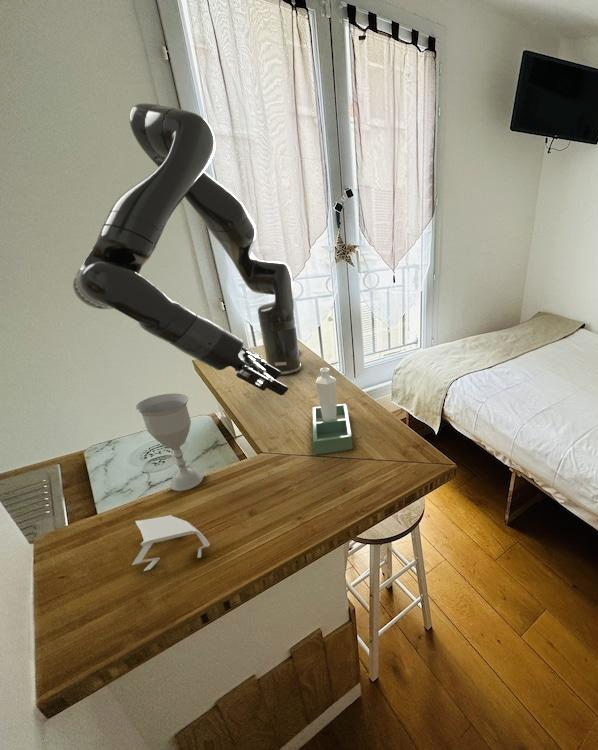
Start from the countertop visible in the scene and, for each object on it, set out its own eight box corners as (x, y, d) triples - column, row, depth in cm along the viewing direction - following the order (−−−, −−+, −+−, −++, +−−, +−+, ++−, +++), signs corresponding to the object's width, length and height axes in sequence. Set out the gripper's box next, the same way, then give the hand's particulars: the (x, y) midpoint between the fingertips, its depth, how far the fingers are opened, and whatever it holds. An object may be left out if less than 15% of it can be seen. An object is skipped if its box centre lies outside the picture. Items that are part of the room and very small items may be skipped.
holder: (313, 419, 101) (312, 407, 100) (347, 415, 104) (346, 403, 103) (314, 454, 89) (313, 441, 87) (352, 449, 92) (351, 436, 90)
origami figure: (113, 578, 59) (102, 555, 57) (147, 533, 66) (139, 511, 64) (204, 570, 61) (197, 548, 59) (227, 528, 69) (221, 507, 67)
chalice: (159, 498, 73) (130, 415, 66) (166, 475, 79) (140, 396, 71) (207, 488, 77) (185, 408, 69) (211, 467, 82) (191, 391, 74)
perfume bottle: (343, 419, 101) (338, 366, 94) (335, 428, 97) (329, 374, 90) (325, 417, 101) (320, 364, 95) (317, 426, 97) (310, 371, 91)
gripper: (224, 340, 72) (300, 384, 83) (218, 317, 82) (287, 358, 93) (195, 371, 71) (275, 411, 83) (193, 344, 81) (265, 383, 93)
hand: (281, 383), depth 88 cm, fingers open, 8 cm apart
